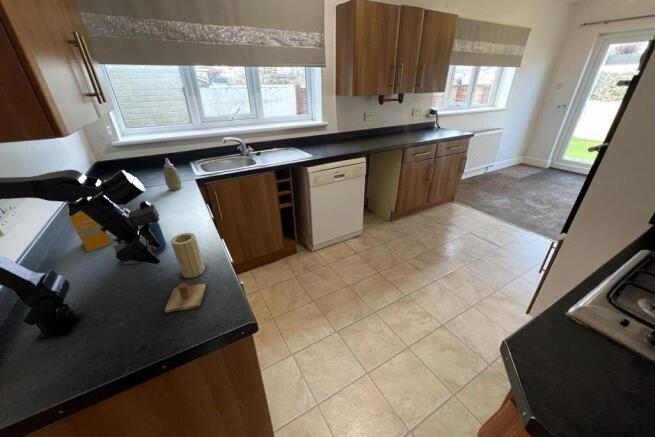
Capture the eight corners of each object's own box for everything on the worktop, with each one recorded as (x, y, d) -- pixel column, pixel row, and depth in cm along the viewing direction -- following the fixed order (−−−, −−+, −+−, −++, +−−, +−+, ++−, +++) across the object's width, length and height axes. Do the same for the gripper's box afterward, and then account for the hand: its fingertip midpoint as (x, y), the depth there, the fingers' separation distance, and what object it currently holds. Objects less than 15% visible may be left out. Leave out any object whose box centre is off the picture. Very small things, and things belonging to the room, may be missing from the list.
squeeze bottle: (182, 189, 156) (173, 159, 148) (167, 192, 154) (157, 161, 145) (183, 185, 163) (175, 155, 154) (168, 187, 160) (159, 157, 152)
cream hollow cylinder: (180, 279, 86) (168, 245, 80) (185, 266, 92) (174, 234, 86) (202, 276, 88) (192, 242, 81) (206, 263, 93) (197, 231, 87)
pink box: (146, 257, 97) (137, 234, 93) (141, 263, 94) (131, 239, 90) (124, 258, 97) (113, 234, 92) (118, 264, 94) (106, 240, 89)
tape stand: (165, 312, 74) (159, 299, 72) (175, 290, 82) (170, 277, 80) (199, 307, 76) (195, 294, 73) (206, 285, 83) (202, 273, 81)
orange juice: (107, 235, 112) (86, 190, 102) (111, 243, 106) (89, 197, 97) (84, 243, 107) (59, 196, 98) (86, 251, 101) (61, 203, 92)
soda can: (163, 242, 106) (154, 215, 101) (169, 249, 102) (160, 221, 96) (144, 249, 102) (132, 222, 96) (149, 257, 98) (138, 228, 92)
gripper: (135, 210, 60) (186, 252, 69) (140, 184, 74) (181, 222, 84) (89, 241, 58) (147, 280, 67) (103, 208, 72) (150, 245, 82)
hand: (158, 254), depth 75 cm, fingers open, 9 cm apart
